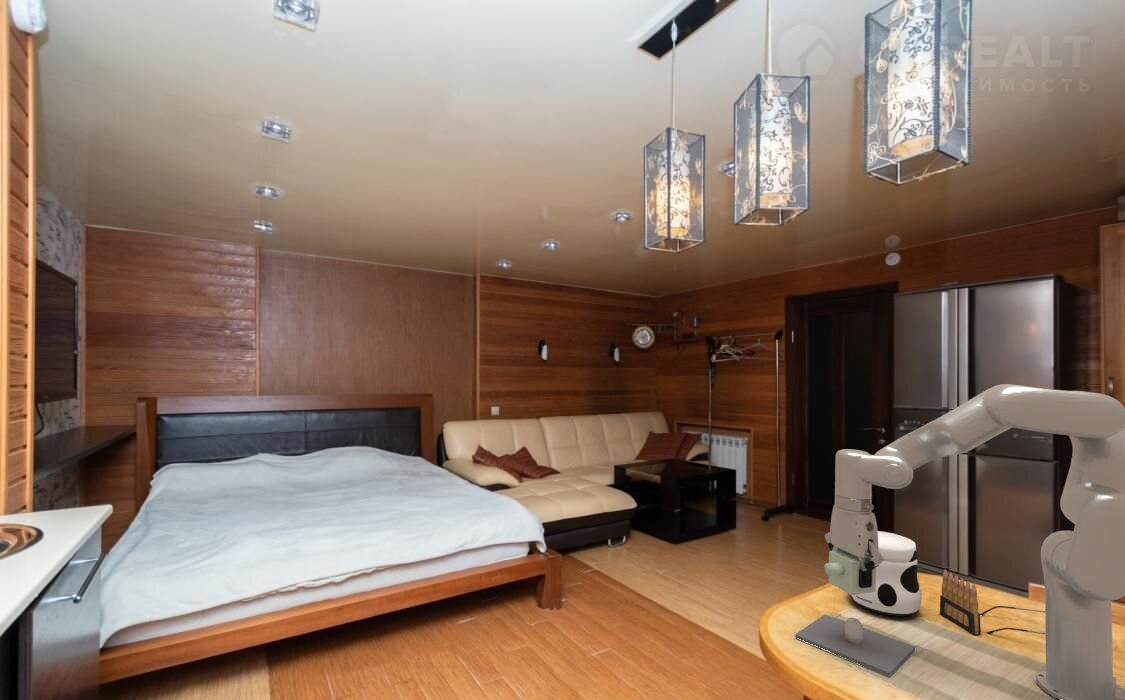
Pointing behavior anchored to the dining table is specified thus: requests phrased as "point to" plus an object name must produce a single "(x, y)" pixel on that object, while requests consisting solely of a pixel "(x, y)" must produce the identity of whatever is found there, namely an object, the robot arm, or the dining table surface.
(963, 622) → the ammunition clip
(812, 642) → the board
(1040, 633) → the sunglasses
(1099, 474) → the robot arm
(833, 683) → the dining table surface
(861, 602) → the milk container
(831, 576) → the block with round peg
